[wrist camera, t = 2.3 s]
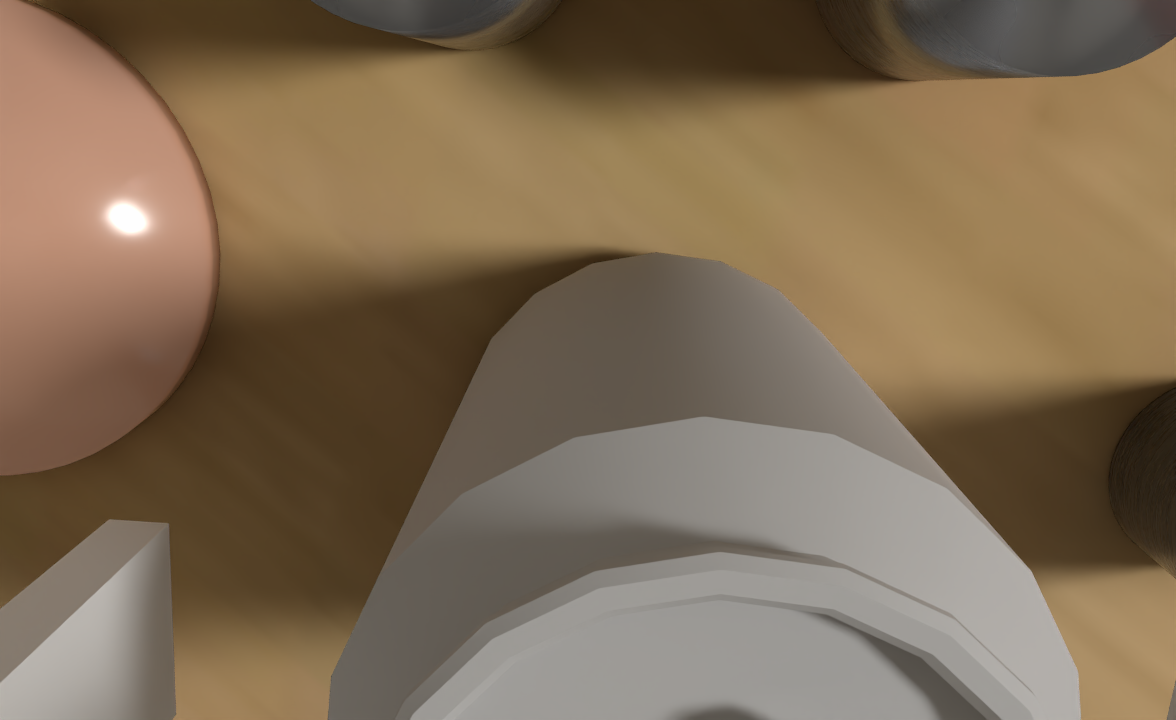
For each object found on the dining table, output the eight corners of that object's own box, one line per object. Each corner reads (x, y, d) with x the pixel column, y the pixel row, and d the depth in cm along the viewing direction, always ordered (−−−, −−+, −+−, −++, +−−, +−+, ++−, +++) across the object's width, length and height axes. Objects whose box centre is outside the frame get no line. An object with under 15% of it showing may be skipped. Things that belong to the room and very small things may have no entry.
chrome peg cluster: (354, -206, 17) (222, -358, 11) (1478, -130, 17) (1932, -244, 11) (349, 876, 23) (259, 1145, 17) (1190, 935, 23) (1389, 1225, 17)
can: (393, 476, 20) (104, 995, 9) (608, 165, 19) (608, 290, 7) (694, 668, 21) (797, 1366, 10) (924, 389, 20) (1385, 828, 8)
